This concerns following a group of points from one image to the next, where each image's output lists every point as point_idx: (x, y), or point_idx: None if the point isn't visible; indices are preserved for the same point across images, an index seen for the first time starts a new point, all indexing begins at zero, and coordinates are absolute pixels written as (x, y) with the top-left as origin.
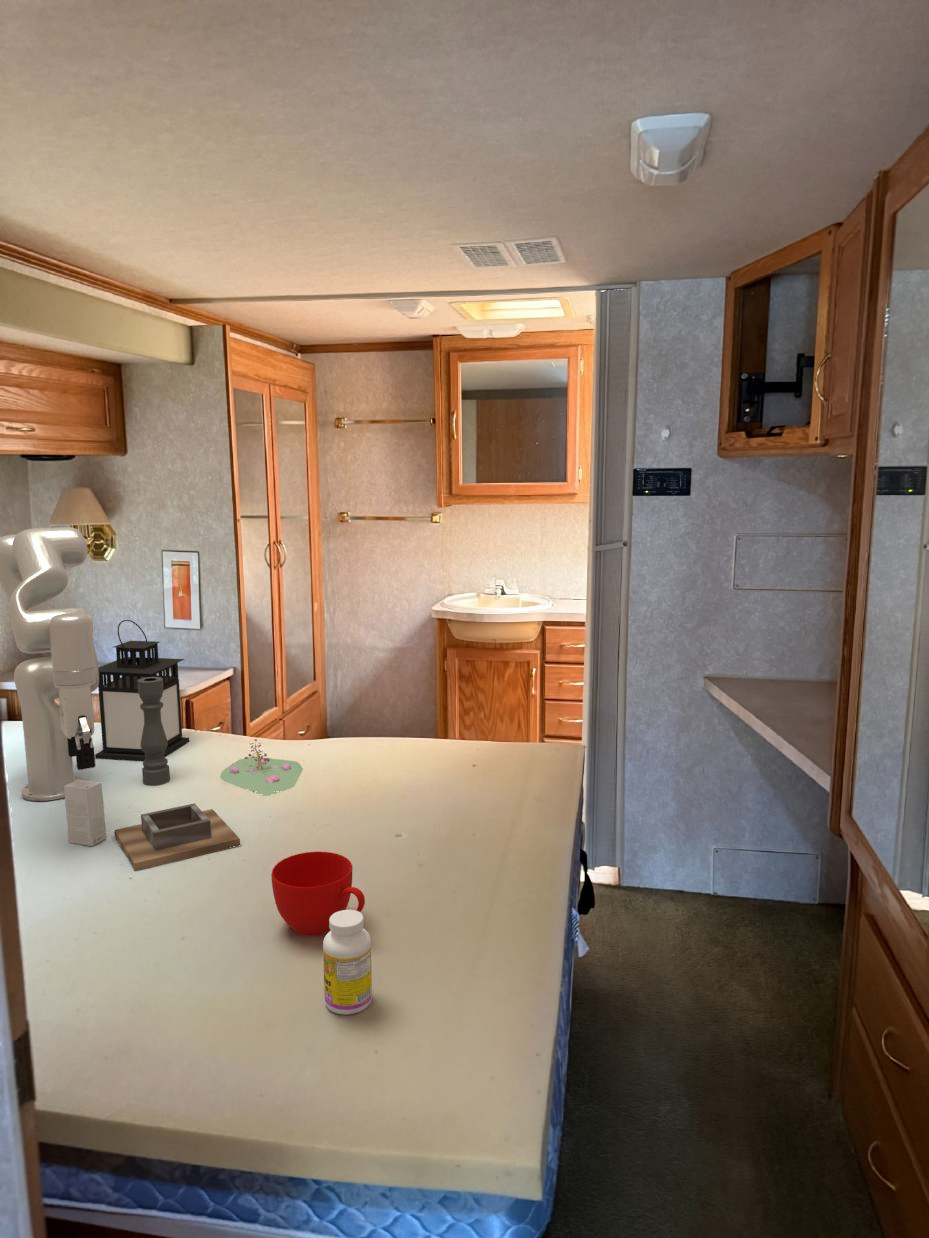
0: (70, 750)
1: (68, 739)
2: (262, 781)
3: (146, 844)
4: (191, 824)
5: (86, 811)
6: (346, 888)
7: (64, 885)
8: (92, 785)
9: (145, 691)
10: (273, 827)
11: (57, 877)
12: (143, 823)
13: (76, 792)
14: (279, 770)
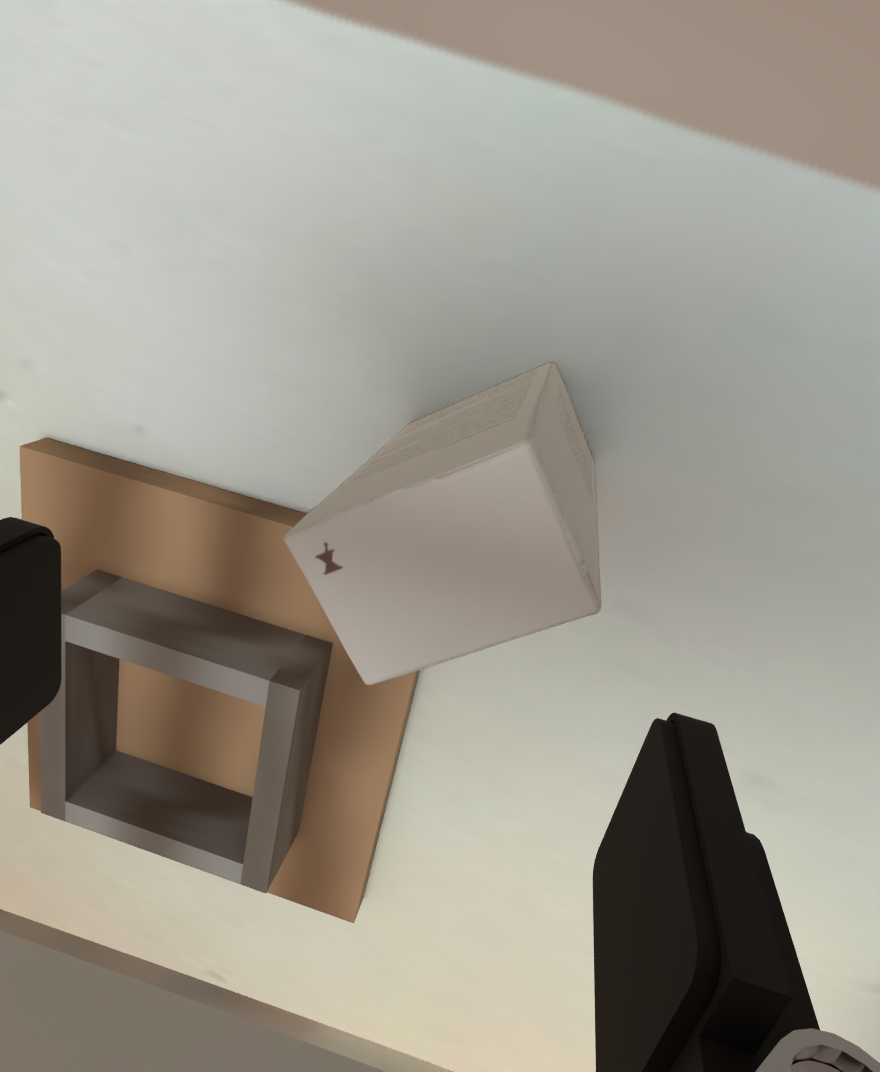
0: (661, 782)
1: (714, 949)
2: None
3: (176, 577)
4: (44, 750)
5: (366, 469)
6: None
7: (68, 130)
8: (342, 607)
9: None
10: (127, 925)
11: (171, 136)
12: (268, 657)
13: (399, 480)
14: None
